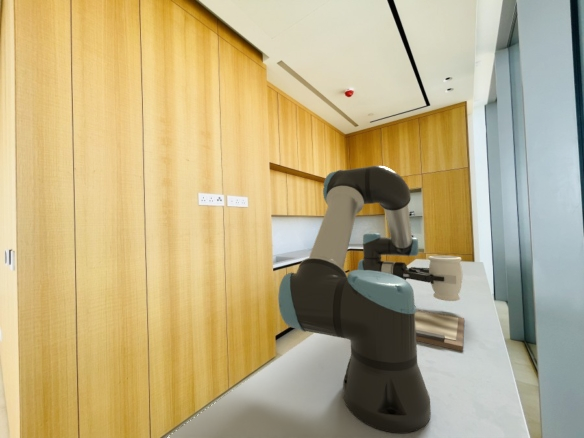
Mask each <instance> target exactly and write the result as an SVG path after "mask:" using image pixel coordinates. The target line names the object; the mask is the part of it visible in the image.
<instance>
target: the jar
mask: <svg viewBox="0 0 584 438" xmlns="http://www.w3.org/2000/svg"><path fill="white" fill-rule="evenodd" d="M428 260H429V261H430V262H429V266H428V268H429V274H433V276H434V274H442V275H453V276H456V284H449V283H441V282H434V284H431V283H430V285H431V288H432V290H433V292H434V293H433V297H434V298H435V299H437V300H440V301H446V302H447V301H448V302H457V301H460V300H461V297H460V296H459V294H460V293H461V289H462V283H463V269H462V265H461V261H462V260H463V259H462V257H460V256H455V255H430V256H429V255H428Z"/></svg>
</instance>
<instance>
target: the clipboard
mask: <svg viewBox="0 0 584 438" xmlns="http://www.w3.org/2000/svg"><path fill="white" fill-rule="evenodd" d="M415 327H416V342H421V343H425V344H430V345H435V346H437V347H442V348H443V347H444V348H448V349H451V350H456V351H460V352H463V351H464V336H465V318H464V317H459V316H453V315H448V314H441V313H435V312H428V311H421V310H417V309H416V313H415Z"/></svg>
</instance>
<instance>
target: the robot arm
mask: <svg viewBox="0 0 584 438" xmlns="http://www.w3.org/2000/svg"><path fill="white" fill-rule="evenodd" d="M322 193H323V199H324V201H325V203H326V204H327V207H326V208H327V209H326V210H325V213H324V216H323V218H322V222H321V224H320V227H319V229H318V233H317V235H316V238H315V240H314V243H313V245H312V248H311V251H310V254H309V256H308V257H307V258H305V259H303V260H302V261H301V262H300V263H299V266H298V268H297V270H296V272H292V271H291V272H288V273H287V274H285V275H284V276H283V277H282V279H281V281H280V284H279V288H278V299H277V301H278V310H279V313H280V317H281V319H282V320H283V322H284V324H285V325H287V326H288V327H289V328H293V329H297V330H301V332H307V333H308V332H309V333H315V334H320V335H326V336H331V337H336V338H339V339H340V338H341V339H347V340H350V357H349V360H348V363H347V367H346V370H345V374H344V378H343V380H342V390H343V391H342V395H343V401H344V403H345V405H346V407H347V408H348V410H349V411H350V412H351V413H352V414H353V415H354V417H356V418H357V419H359V420H360V421H361V422H363V423H365V424H366V425H368V426H370V427H373V428H376V429H378V430H380V431H385V432H388V433H398V434H401V433H403V434H404V433H411V432H414V431H415V432H416V431H418V430H420V429H422V428H424V427H425V426H426V425H427V424H428V423H429V421H430V418H431V414H432V412H431V398H430V393H429V391H428V389H427V387H426V384H425V380H424V379H423V378H424V377H423V374H422V372H421V370H420V367H419V365H418V364H419V363H418V349H417V348H418V347H417V346H418V345H417V341H416V327H415V313H416V310H417V306H416V304H415V295H414V288H413V287H412V285H411V284H410V282H408V281H407V280H414V281H418V282H419V281H420V282H425V283H429V284H430V285H431V284H434V282H441V283H449V284H456V276H453V275H442V274H434V276H433V274H429V267H417V266H411V267H409V268H408V266H407V264H406V263H405V262H402V261H399V262H398V261H396V262H395V261H392V260H391V261H388V260H382V256H397V257H398V256H405V257H412V256H413V257H414V256H415V257H416V256H418V255H419V239H418V238H417V237H413V236H412V228H411V227H412V226H411V219H410V212H409V211H410V210H409V204H410V203H411V200H412V199H411V191H410V187H409V185H408V184H407V182H406V181H405V179H403V177H402V176H401V175H400V174H398V172H396V171H395V170H393V169H391V168H388V167H386V166H383V165H372V166H364V167H359V168H351V169H350V168H349V169H339V170H336V171H332V172H329V174H327V175H326V177H325V179H324V182H323V190H322ZM366 204H367V205H368V204H369V205H370V204H371V205H372V204H379V206H380V207H381V208H382V209H383V211H384V213H385V218H386V219H385V220H386V223H387V227H388V231H389V234H390V237H381V236H382V235H381V233H375V232H373V233H371V232H369V233H364V234H363V235H362V236H363V237H362V249H363V251H362V253H363V258H362V259H360V260H359V261H358V263H357V264H358V265H357V269H354V270H351V271H349V273H348V275H347V273H346V271H345V270H344V266H345V263H346V262H345V261H346V258H347V254H348V250H349V245H350V242H351V237H352V234H353V233H352V232H353V229H354V225H355V221H356V217H357V214H359V213H360V212H361V211H362V210H363V208H364V205H366Z"/></svg>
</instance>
